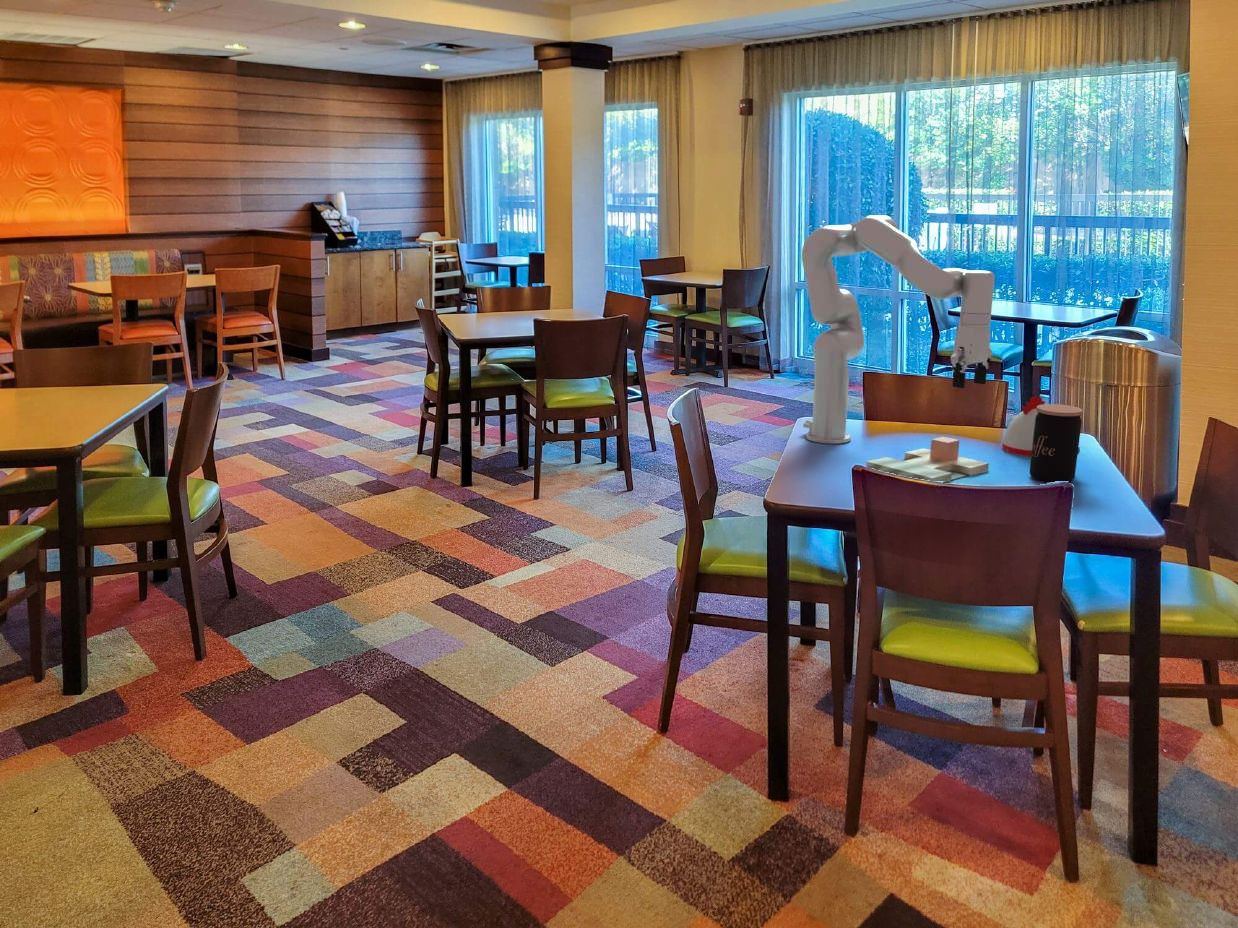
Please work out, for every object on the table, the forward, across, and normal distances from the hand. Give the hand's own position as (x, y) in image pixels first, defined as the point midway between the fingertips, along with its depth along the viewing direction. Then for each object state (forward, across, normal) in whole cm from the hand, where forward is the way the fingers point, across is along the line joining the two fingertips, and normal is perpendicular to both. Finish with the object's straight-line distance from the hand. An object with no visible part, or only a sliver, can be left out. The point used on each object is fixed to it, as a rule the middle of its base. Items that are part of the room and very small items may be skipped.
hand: (969, 385), depth 275 cm
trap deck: (+20, +15, 0) cm, 26 cm away
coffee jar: (+21, -2, +24) cm, 32 cm away
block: (+18, +8, 0) cm, 20 cm away
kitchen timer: (+21, -26, +4) cm, 33 cm away
